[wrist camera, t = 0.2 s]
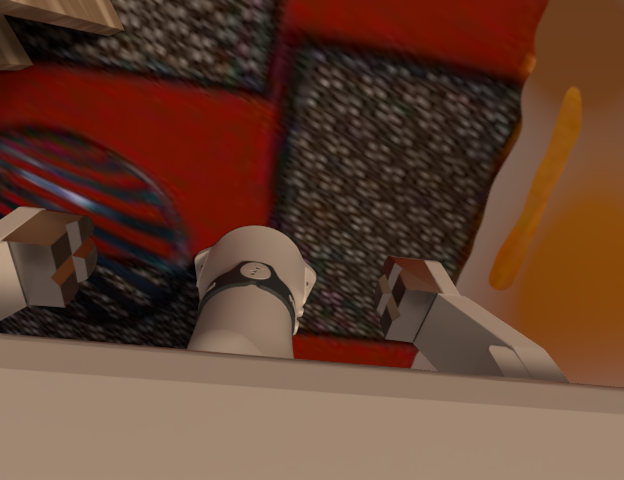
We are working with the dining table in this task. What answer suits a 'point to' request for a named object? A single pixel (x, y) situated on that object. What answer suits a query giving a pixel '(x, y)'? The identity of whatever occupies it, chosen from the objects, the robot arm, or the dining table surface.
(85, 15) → the birch shelf
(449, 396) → the robot arm
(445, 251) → the dining table surface
